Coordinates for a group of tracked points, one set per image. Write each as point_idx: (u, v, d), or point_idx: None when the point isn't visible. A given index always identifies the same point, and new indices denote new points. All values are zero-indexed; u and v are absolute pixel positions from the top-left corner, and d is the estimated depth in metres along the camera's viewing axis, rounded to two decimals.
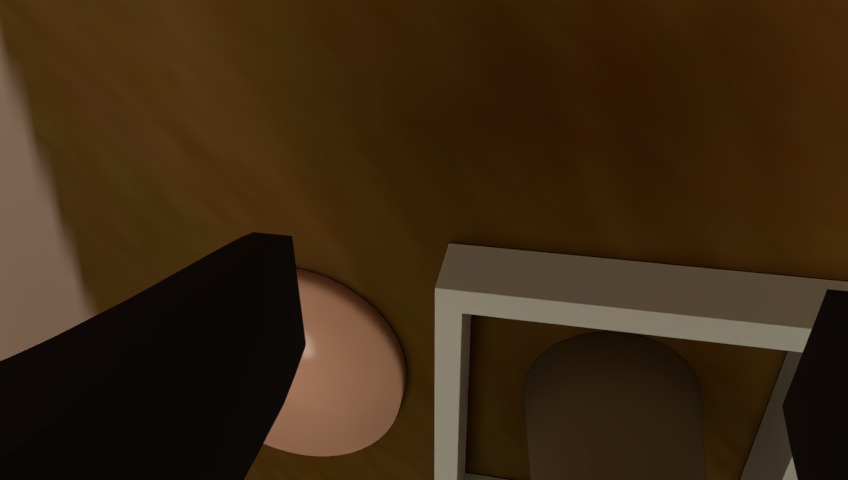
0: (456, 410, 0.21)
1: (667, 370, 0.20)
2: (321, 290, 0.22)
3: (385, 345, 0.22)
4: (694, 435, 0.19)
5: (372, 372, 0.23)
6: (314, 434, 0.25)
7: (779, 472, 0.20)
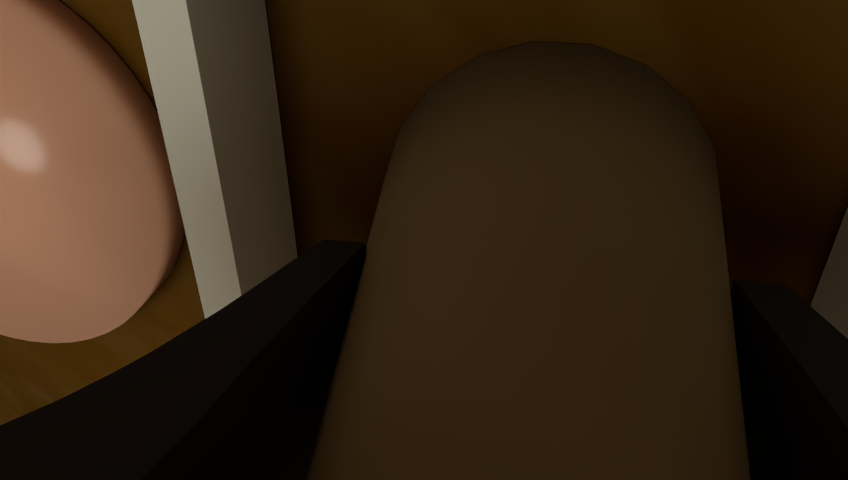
0: (218, 194, 0.10)
1: (650, 97, 0.10)
2: None
3: (106, 93, 0.12)
4: (710, 210, 0.09)
5: (96, 156, 0.12)
6: (40, 300, 0.15)
7: None
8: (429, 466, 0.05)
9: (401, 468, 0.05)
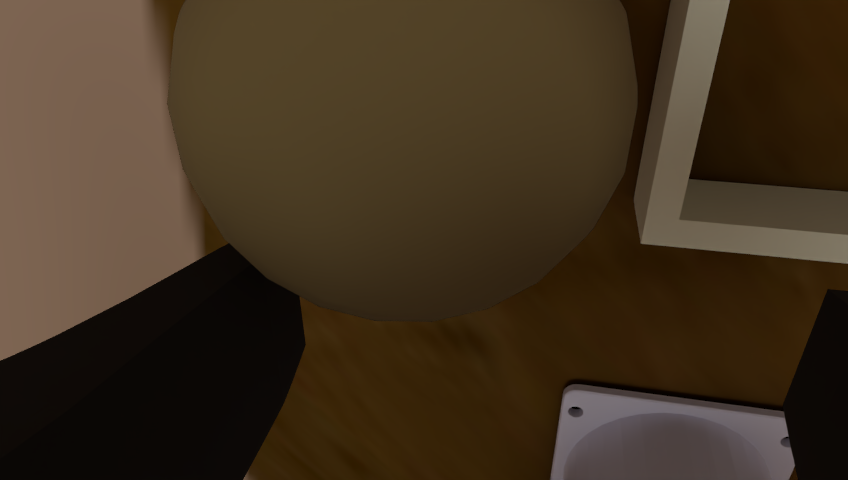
0: None
1: None
2: None
3: None
4: None
5: None
6: None
7: None
8: None
9: None
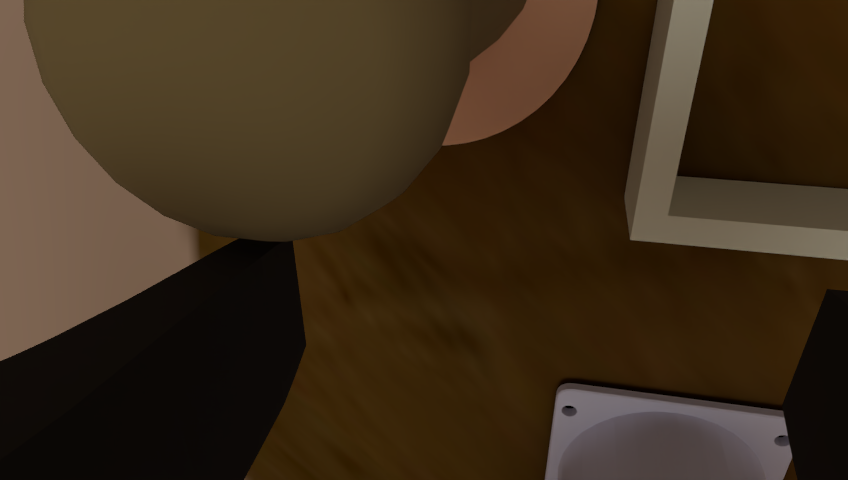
0: None
1: None
2: None
3: None
4: None
5: None
6: None
7: None
8: None
9: None
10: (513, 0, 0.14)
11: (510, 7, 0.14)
